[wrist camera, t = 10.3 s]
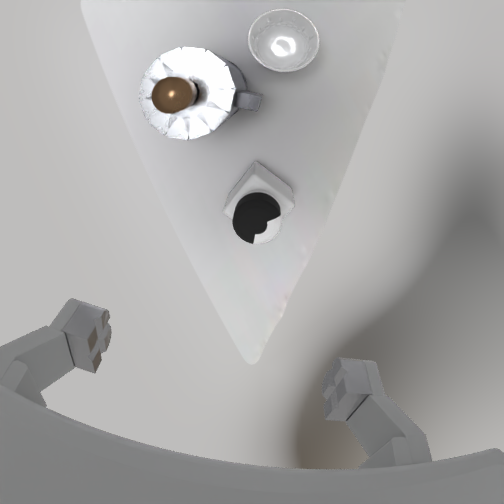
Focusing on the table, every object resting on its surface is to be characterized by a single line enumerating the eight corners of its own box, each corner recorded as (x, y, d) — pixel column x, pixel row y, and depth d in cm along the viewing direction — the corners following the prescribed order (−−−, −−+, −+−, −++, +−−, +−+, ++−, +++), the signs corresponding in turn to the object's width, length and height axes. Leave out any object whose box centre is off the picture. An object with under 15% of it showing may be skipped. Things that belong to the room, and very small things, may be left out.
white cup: (240, 46, 37) (232, 36, 29) (283, 14, 34) (286, -4, 26) (278, 85, 40) (280, 85, 31) (320, 53, 37) (334, 45, 28)
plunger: (190, 63, 37) (138, 53, 21) (240, 70, 37) (218, 61, 21) (182, 109, 40) (127, 129, 24) (229, 117, 41) (202, 140, 25)
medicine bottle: (227, 195, 49) (215, 229, 39) (255, 160, 46) (251, 185, 36) (263, 221, 51) (262, 260, 41) (292, 188, 48) (299, 221, 37)
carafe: (187, 54, 38) (147, 42, 24) (269, 67, 39) (269, 58, 25) (175, 115, 43) (132, 133, 29) (254, 130, 44) (247, 153, 30)
